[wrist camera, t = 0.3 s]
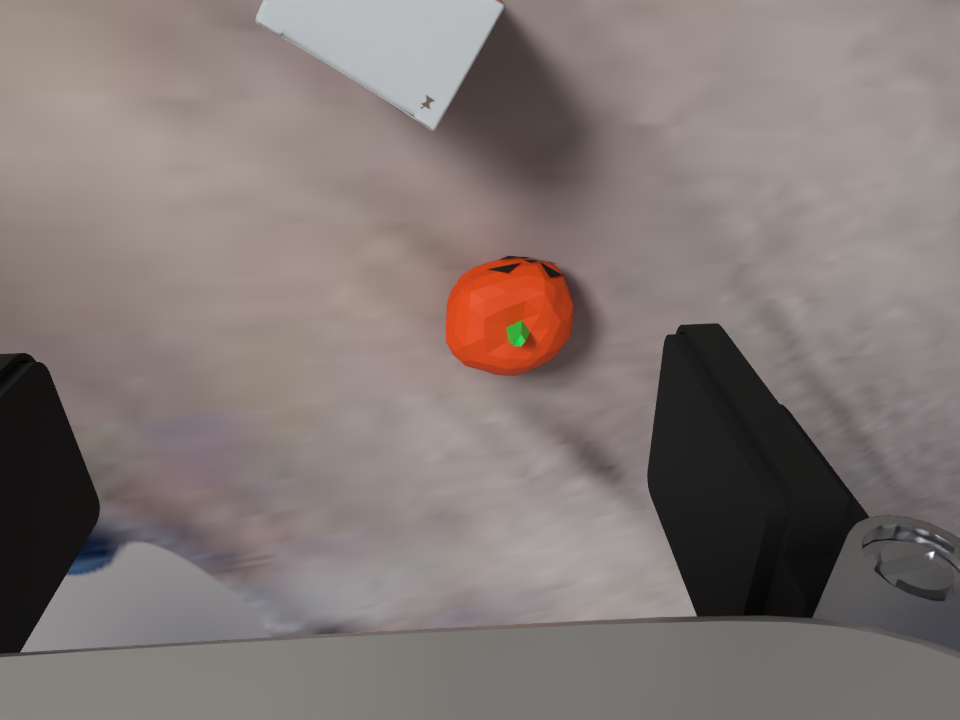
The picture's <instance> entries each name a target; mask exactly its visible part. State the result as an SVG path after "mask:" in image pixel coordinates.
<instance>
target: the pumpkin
mask: <svg viewBox="0 0 960 720" xmlns="http://www.w3.org/2000/svg"><path fill="white" fill-rule="evenodd" d="M526 258H529V257H516V256H507V257H504V258H502V259H499V260H497V261H493V262H488V263H485V264H483V265H480V266H477V267H474V268H473V269H471V270H470V271H468V272H467V273H465V274H464V275H462V276H461V277H460V279H459V280H458V282H457V283H456V285H455V286H454V288H453V290H452V291H451V293H450V296H449V299H448V302H447V316H446V342H447V345H448V346H449V348H450V350H451V352H452V353H453V355H454V356H455V357H456V358H458V359H459V360H460V361H461V362H462V363H463V364H464V365H465V366H468V367H472V368H476V369H479V370H483V371H486V372H489V373H493V374H498V375H512V376H515V375H518V374H521V373H524V372H526V371H529V370H531V369H534V368H536V367H538V366H540V365H542V364H544V363H546V362H548V361H550V360H552V359H553V358H554V357H555V356H556V354H557V353H558V352H559V351H560V349H561V348H562V347H563V345H564V344H565V343H566V342H567V340H568V339H569V338H570V336H571V331H572V324H573V317H574V305H573V302H572V298H571V295H570V292H569V289H568V286H567V284H566V281H565V279H564V275H563V274H562V273H561V272H560V270H559V269H558V268H557V267H556V266H555V265H554V264H553V262H552V263H548V262H543V261H538V260H539V259H538V260H533V259H534V258H533V259H526ZM544 261H545V260H544ZM549 262H550V261H549ZM555 264H556V263H555Z"/></svg>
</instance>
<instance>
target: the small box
mask: <svg viewBox="0 0 960 720" xmlns="http://www.w3.org/2000/svg"><path fill="white" fill-rule="evenodd" d="M504 7H505V4H504V2H502V1H501V0H263V2H262V4H261V7H260V9H259V11H258V14H257V16H256V23H257V24H259V25H260V26H262V27H264V28H266V29H267V30H269V31H271V32H273V33H275V34H277V35H278V36H280V37H282V38H284V39H286V40H287V41H289V42H291V43H293V44H294V45H296V46H298V47H299V48H301V49H303V50H305V51H306V52H308V53H310V54H311V55H313V56H314V57H316V58H318V59H319V60H321V61H322V62H324V63H326V64H327V65H329V66H331V67H332V68H334V69H335V70H337V71H339V72H340V73H342V74H344V75H345V76H347V77H349V78H350V79H352V80H354V81H355V82H357V83H358V84H360V85H362V86H363V87H365V88H366V89H368V90H370V91H371V92H373V93H374V94H376V95H378V96H379V97H381V98H383V99H384V100H386V101H387V102H389V103H391V104H392V105H394V106H395V107H397V108H398V109H400V110H401V111H403V112H404V113H406V114H407V115H409V116H410V117H412V118H413V119H415V120H416V121H417V122H419V123H420V124H422V125H423V126H425V127H426V128H428V129H429V130H431V131H435V130H436V129H437V127H438V125H439V123H440V122H441V120H442V118H443V116H444V114H445V113H446V111H447V109H448V107H449V106H450V104H451V102H452V100H453V99H454V97H455V95H456V93H457V92H458V90H459V88H460V86H461V85H462V83H463V81H464V79H465V77H466V76H467V74H468V72H469V70H470V69H471V67H472V65H473V63H474V61H475V60H476V58H477V56H478V54H479V53H480V51H481V49H482V47H483V45H484V44H485V42H486V40H487V38H488V36H489V35H490V33H491V31H492V29H493V27H494V26H495V24H496V22H497V20H498V19H499V17H500V15H501V13H502V12H503V10H504Z"/></svg>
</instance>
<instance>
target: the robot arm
mask: <svg viewBox="0 0 960 720" xmlns="http://www.w3.org/2000/svg"><path fill="white" fill-rule="evenodd" d="M647 477H648V488H649V492H650V495H651V498H652V501H653V503H654V506H655V509H656V511H657V514H658V516H659V519H660V521H661V524H662V527H663V529H664V532H665V534H666V537H667V540H668V542H669V545H670V547H671V550H672V552H673V555H674V558H675V560H676V563H677V565H678V568H679V570H680V573H681V576H682V578H683V581H684V583H685V586H686V589H687V591H688V594H689V596H690V599H691V601H692V604H693V607H694V609H695V612H696V614H697V617H655V618H639V619H617V620H594V621H572V622H553V623H533V624H514V625H494V626H475V627H455V628H436V629H417V630H397V631H378V632H360V633H342V634H324V635H306V636H288V637H271V638H253V639H236V640H221V641H220V640H218V641H201V642H185V643H167V644H149V645H134V646H118V647H100V648H85V649H68V650H52V651H37V652H21V653H20V651H21V650H22V648H23V646H24V645H25V643H26V641H27V640H28V638H29V636H30V635H31V633H32V631H33V629H34V628H35V626H36V624H37V623H38V621H39V619H40V618H41V616H42V614H43V613H44V611H45V609H46V608H47V606H48V604H49V602H50V601H51V599H52V597H53V596H54V594H55V592H56V591H57V589H58V587H59V586H60V584H61V582H62V581H63V579H64V577H65V575H66V574H67V572H68V570H69V569H70V567H71V565H72V564H73V562H74V560H75V559H76V557H77V555H78V554H79V552H80V550H81V548H82V547H83V545H84V543H85V542H86V540H87V538H88V537H89V535H90V533H91V532H92V530H93V528H94V527H95V525H96V523H97V521H98V517H99V511H100V504H99V499H98V496H97V493H96V491H95V488H94V486H93V483H92V481H91V478H90V475H89V473H88V470H87V468H86V465H85V462H84V460H83V457H82V455H81V452H80V450H79V447H78V444H77V442H76V439H75V437H74V434H73V432H72V429H71V426H70V424H69V421H68V419H67V416H66V414H65V411H64V408H63V406H62V403H61V401H60V398H59V396H58V393H57V390H56V388H55V385H54V383H53V380H52V378H51V375H50V372H49V370H48V369H47V367H46V366H45V365H44V364H43V363H41V362H36V361H35V359H34V358H33V357H32V356H31V355H29V354H26V353H15V354H0V720H960V539H959V538H958V537H956V536H955V535H953V534H952V533H950V532H948V531H945V530H943V529H941V528H939V527H937V526H934V525H932V524H930V523H927V522H923V521H920V520H916V519H912V518H909V517H901V516H891V515H885V516H876V517H869V516H868V515H867V513H866V512H865V511H864V509H863V508H862V507H861V505H860V504H859V503H858V501H857V500H856V499H855V497H854V496H853V495H852V493H851V492H850V491H849V489H848V488H847V487H846V485H845V484H844V483H843V482H842V480H841V479H840V478H839V476H838V475H837V474H836V472H835V471H834V470H833V468H832V467H831V466H830V464H829V463H828V462H827V460H826V459H825V458H824V456H823V455H822V454H821V452H820V451H819V450H818V448H817V447H816V446H815V444H814V443H813V442H812V441H811V439H810V438H809V437H808V435H807V434H806V433H805V431H804V430H803V429H802V427H801V426H800V425H799V423H798V422H797V421H796V419H795V418H794V417H793V415H792V414H791V413H790V411H789V410H788V409H787V408H786V407H784V406H783V405H781V404H779V403H778V401H777V400H776V399H775V397H774V396H773V395H772V393H771V392H770V391H769V389H768V388H767V387H766V385H765V384H764V383H763V381H762V380H761V379H760V377H759V376H758V375H757V373H756V372H755V371H754V369H753V368H752V367H751V365H750V364H749V363H748V361H747V360H746V359H745V357H744V356H743V355H742V353H741V352H740V351H739V349H738V348H737V347H736V345H735V344H734V343H733V341H732V340H731V338H730V337H729V336H728V334H727V333H726V332H725V330H724V329H723V328H722V326H720V325H719V324H716V323H715V324H691V325H680V326H679V327H678V329H677V332H676V334H673V335H667V336H666V338H665V341H664V347H663V355H662V363H661V370H660V378H659V386H658V394H657V402H656V410H655V417H654V425H653V433H652V441H651V449H650V456H649V464H648V474H647Z"/></svg>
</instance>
